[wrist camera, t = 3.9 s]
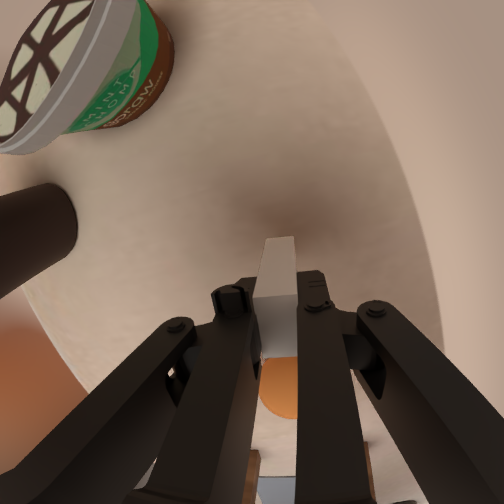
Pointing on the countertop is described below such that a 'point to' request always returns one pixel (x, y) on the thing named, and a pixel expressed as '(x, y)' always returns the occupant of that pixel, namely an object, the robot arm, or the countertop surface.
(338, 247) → the countertop surface
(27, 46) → the food container
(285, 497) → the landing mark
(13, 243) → the bottle
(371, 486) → the post
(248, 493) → the post
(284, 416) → the ball
